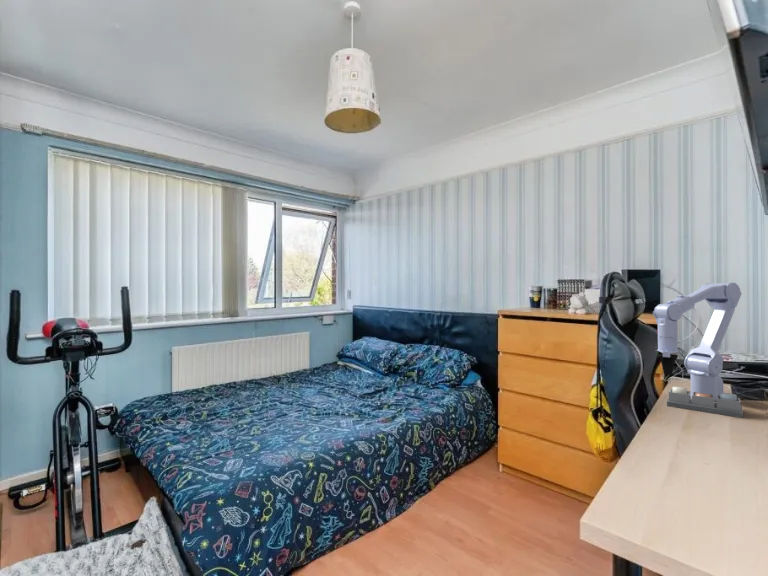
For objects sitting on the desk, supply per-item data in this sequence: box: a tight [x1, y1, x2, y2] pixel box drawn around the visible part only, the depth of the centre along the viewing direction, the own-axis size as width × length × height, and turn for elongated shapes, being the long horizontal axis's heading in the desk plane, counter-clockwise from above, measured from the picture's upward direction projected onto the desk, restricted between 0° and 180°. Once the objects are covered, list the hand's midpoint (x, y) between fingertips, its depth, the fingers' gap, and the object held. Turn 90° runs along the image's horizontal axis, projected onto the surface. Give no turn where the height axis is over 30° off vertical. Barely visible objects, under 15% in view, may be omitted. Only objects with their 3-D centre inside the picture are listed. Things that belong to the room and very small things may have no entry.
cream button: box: [671, 386, 688, 394], centre depth 128 cm, size 4×4×3 cm
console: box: [666, 388, 744, 419], centre depth 124 cm, size 19×9×4 cm, turn 48°
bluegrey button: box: [720, 392, 738, 401], centre depth 120 cm, size 4×4×3 cm
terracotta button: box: [695, 393, 711, 398], centre depth 124 cm, size 4×4×3 cm
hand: (668, 374), depth 133 cm, fingers closed
